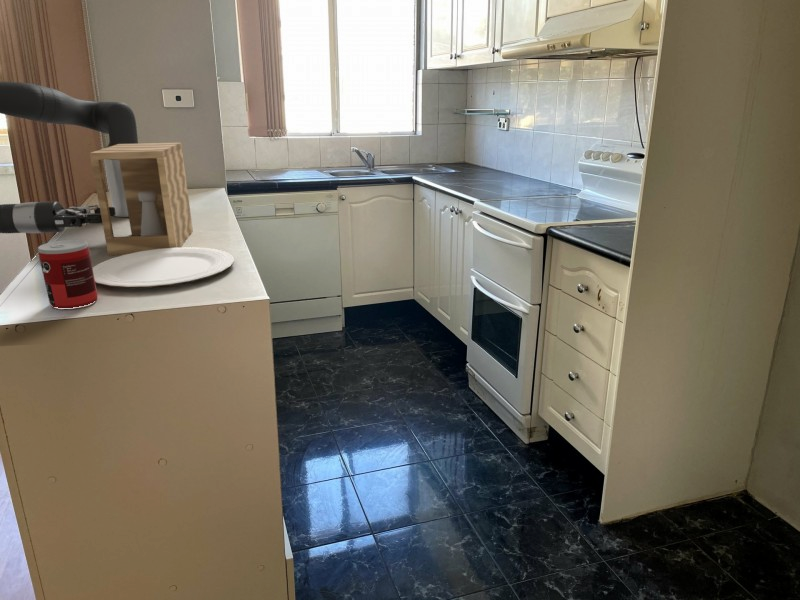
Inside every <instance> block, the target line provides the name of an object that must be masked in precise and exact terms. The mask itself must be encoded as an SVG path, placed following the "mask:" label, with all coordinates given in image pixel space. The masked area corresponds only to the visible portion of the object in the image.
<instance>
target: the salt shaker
mask: <svg viewBox="0 0 800 600" xmlns="http://www.w3.org/2000/svg"><path fill="white" fill-rule="evenodd" d="M138 198H139V201H142V223H141V235H140V236H147V235H167V234H166V231H165V228H164V225H163V222H162V219H161V216H160V213H159V210H158V207H157V204H156V201H155V200H157V193H156V192H155V191H151V190H147V191H142V192H140V193H139V194H138Z"/></svg>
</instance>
